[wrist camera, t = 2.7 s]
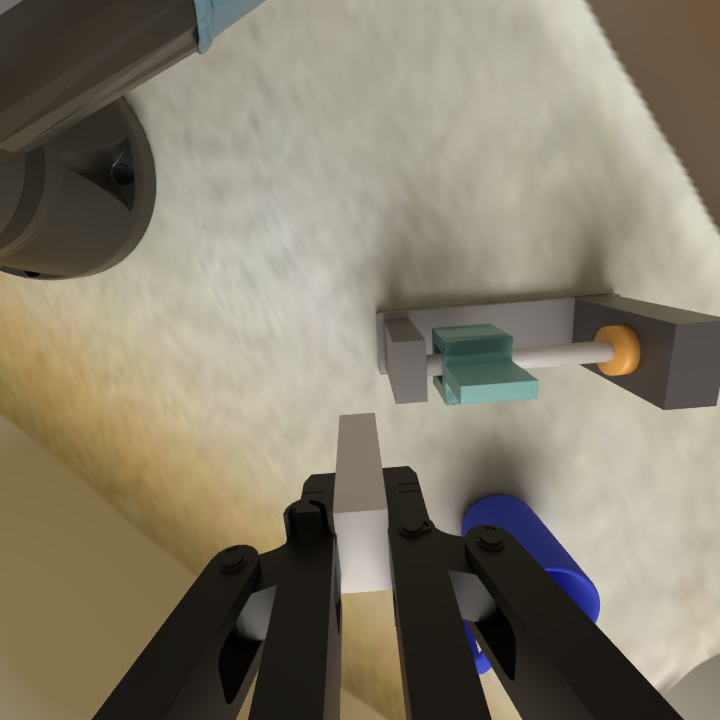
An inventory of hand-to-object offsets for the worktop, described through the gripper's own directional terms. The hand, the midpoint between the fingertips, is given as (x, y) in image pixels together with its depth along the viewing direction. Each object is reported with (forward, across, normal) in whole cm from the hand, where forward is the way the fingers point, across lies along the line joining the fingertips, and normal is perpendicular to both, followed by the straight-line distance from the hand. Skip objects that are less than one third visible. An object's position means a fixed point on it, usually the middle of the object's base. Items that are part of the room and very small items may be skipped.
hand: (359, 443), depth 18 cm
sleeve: (+11, +7, 0) cm, 13 cm away
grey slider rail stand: (+16, +11, 0) cm, 19 cm away
